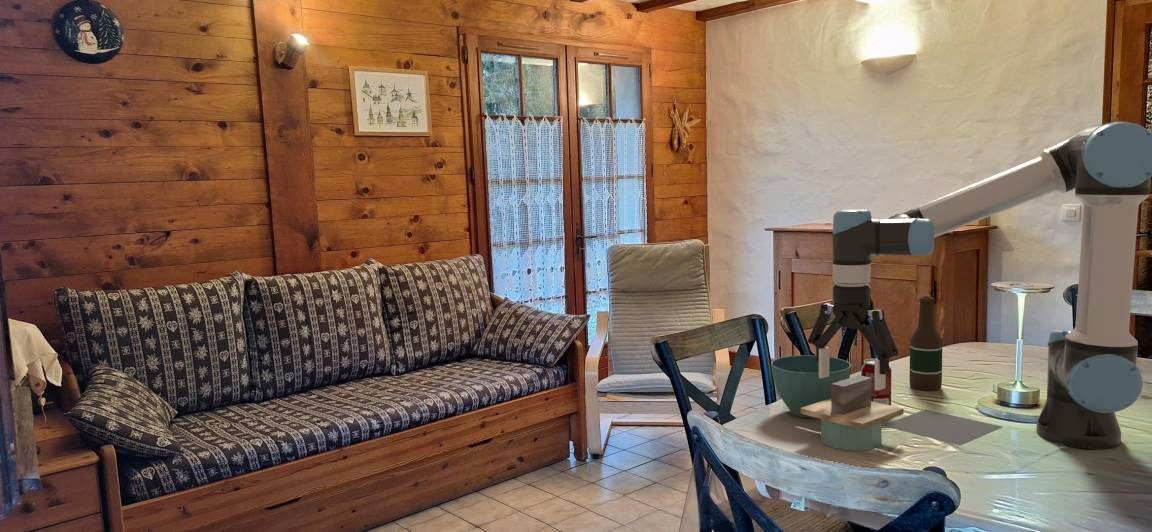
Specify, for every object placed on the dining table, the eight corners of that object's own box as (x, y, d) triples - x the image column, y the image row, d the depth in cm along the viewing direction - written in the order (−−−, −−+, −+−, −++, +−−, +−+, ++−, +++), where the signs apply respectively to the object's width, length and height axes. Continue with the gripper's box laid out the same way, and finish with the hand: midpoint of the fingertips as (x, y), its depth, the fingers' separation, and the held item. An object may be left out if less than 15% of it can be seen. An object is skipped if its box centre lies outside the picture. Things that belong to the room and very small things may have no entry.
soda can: (893, 415, 189) (893, 365, 187) (863, 414, 190) (863, 364, 189) (888, 406, 195) (888, 358, 194) (859, 406, 197) (859, 358, 195)
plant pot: (756, 415, 192) (756, 365, 191) (796, 398, 205) (796, 351, 203) (826, 430, 179) (826, 376, 178) (864, 411, 192) (864, 361, 191)
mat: (1002, 428, 176) (1002, 426, 176) (960, 447, 166) (960, 445, 166) (925, 410, 191) (925, 409, 191) (881, 427, 180) (881, 425, 180)
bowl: (892, 441, 171) (893, 414, 170) (859, 455, 163) (859, 426, 163) (843, 428, 180) (843, 402, 180) (809, 440, 173) (809, 413, 172)
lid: (903, 414, 170) (903, 380, 169) (862, 429, 161) (862, 394, 160) (841, 399, 182) (841, 368, 181) (800, 413, 173) (800, 380, 172)
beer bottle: (948, 389, 209) (950, 297, 206) (925, 392, 206) (926, 300, 203) (925, 382, 216) (926, 293, 213) (902, 385, 213) (903, 296, 210)
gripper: (917, 287, 160) (915, 391, 163) (813, 277, 180) (813, 369, 183) (895, 291, 156) (894, 398, 158) (791, 280, 176) (792, 375, 178)
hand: (851, 383), depth 170 cm, fingers open, 13 cm apart
